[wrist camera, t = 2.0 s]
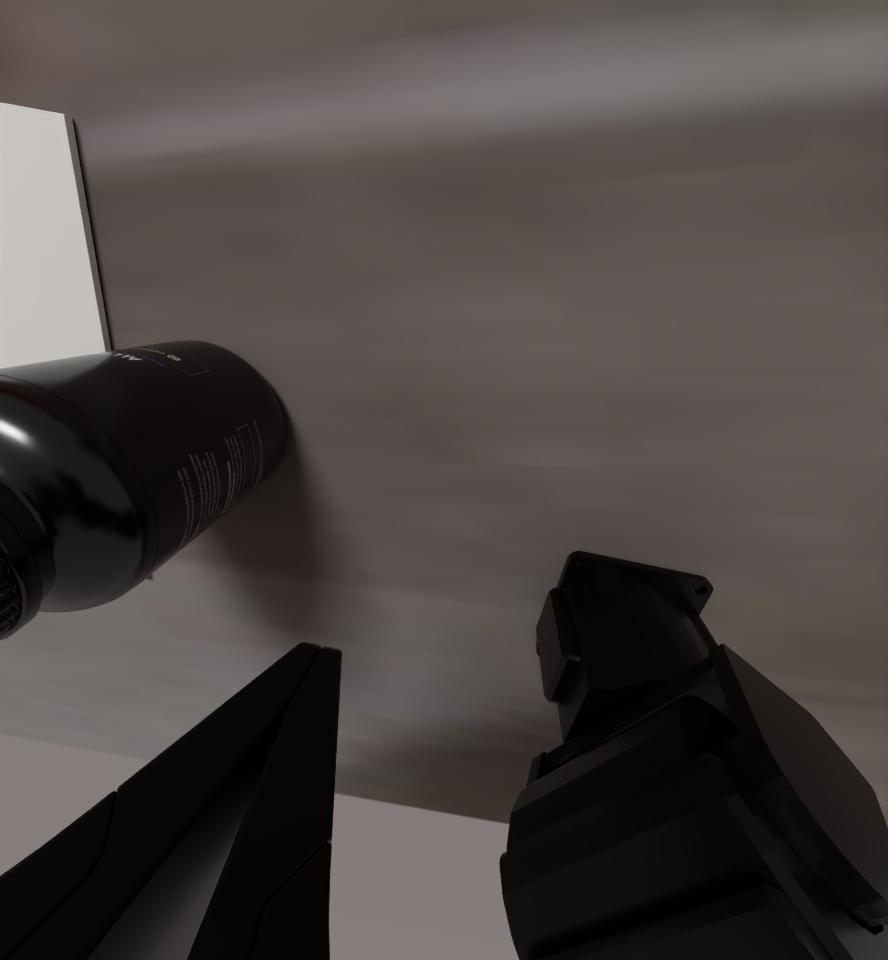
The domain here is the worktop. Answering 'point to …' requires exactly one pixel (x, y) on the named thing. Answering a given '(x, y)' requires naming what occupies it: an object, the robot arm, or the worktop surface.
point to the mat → (45, 244)
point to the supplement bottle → (122, 467)
